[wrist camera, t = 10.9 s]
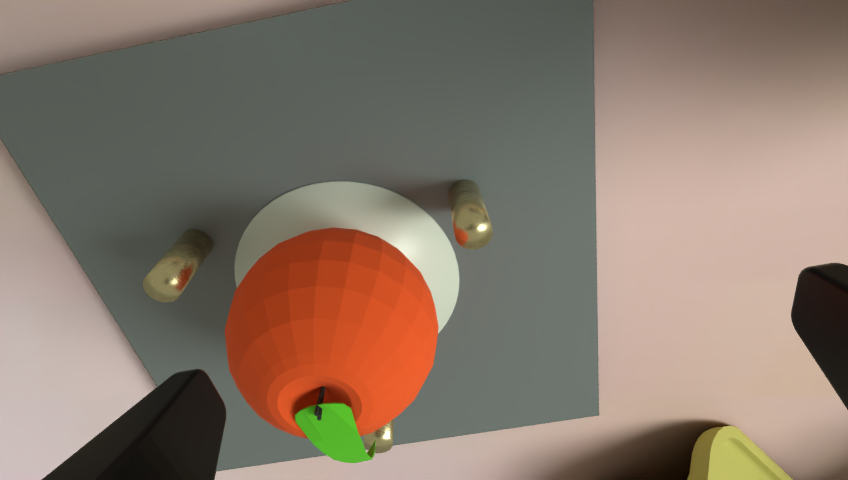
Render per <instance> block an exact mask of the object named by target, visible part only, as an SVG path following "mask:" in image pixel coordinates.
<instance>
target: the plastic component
mask: <svg viewBox="0 0 848 480" xmlns="http://www.w3.org/2000/svg"><path fill="white" fill-rule="evenodd" d="M687 480H793V479H792V478H791V477H789V476H788V475H787V474H786V473H785V472H784V471H783V470H782V469H781V468H780V467H779V466H778V465H777V464H776V463H775V462H773V461H772V460H771V459H770V458H769V457H768V456H767V455H766V454H765V453H764V452H763V451H762V450H761V449H760V448H758V447H757V446H756V445H755V444H754V443H753V442H752V441H751V440H750V439H749V438H748V437H747V436H746V435H745V434H744V433H742V432H741V431H740V430H739V429H738V428H736V427H733V426H723V427H715V428H710V429H708V430H706V431H705V432H703V433H702V434H701V435H700V436H699V437H698V439H697V441H696V443H695V446H694V449H693V452H692V458H691V465H690V473H689V476H688V479H687Z"/></svg>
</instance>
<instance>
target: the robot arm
mask: <svg viewBox="0 0 848 480" xmlns="http://www.w3.org/2000/svg"><path fill="white" fill-rule="evenodd" d="M791 318H792V323H793V326H794V328H795V330H796V332H797V333H798V335H799V336H800V338H801V339H802V341H803V342H804V344H805V345H806V347H807V348H808V350H809V352H810V353H811V355H812V356H813V358H814V359H815V361H816V362H817V364H818V365H819V367H820V368H821V370H822V371H823V373H824V374H825V376H826V377H827V379H828V380H829V382H830V384H831V385H832V387H833V388H834V390H835V391H836V393H837V394H838V396H839V397H840V399H841V400H842V402H843V403H844V405H845V406H846V408H847V409H848V265H844V264H840V263H829V264H823V265H817V266H811V267H807V268H805V269H803V270H802V271H801V273H800V274H799V277H798V282H797V286H796V291H795V296H794V301H793V306H792V311H791ZM225 422H226V407H225V404H224V401H223V400H222V398H221V396H220V395H219V393H218V391H217V389H216V388H215V386H214V384H213V383H212V381H211V379H210V378H209V376H208V374H207V373H206V372H205V371H203V370H202V369H193V370H187V371H181V372H177V373H175V374H173V375H172V376H170V377H169V378H168V379H167V380H165V381H164V382H163V383H162V384H160V385H159V386H158V387H157V388H155V389H154V390H153V391H152V392H150V393H149V394H148V395H147V396H145V397H144V398H143V399H142V400H141V401H139V402H138V403H137V404H136V405H134V406H133V407H132V408H131V409H129V410H128V411H127V412H126V413H124V414H123V415H122V416H121V417H119V418H118V419H117V420H116V421H114V422H113V423H112V424H111V425H109V426H108V427H107V428H106V429H104V430H103V431H102V432H101V433H99V434H98V435H97V436H96V437H94V438H93V439H92V440H91V441H89V442H88V443H87V444H86V445H84V446H83V447H82V448H81V449H79V450H78V451H77V452H76V453H74V454H73V455H72V456H71V457H69V458H68V459H67V460H66V461H64V462H63V463H62V464H61V465H59V466H58V467H57V468H56V469H54V470H53V471H52V472H51V473H49V474H48V475H47V476H46V477H45V478H43V479H42V480H214V479H215V474H216V469H217V464H218V458H219V453H220V448H221V443H222V438H223V433H224V427H225Z"/></svg>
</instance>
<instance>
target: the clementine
mask: <svg viewBox="0 0 848 480" xmlns="http://www.w3.org/2000/svg"><path fill="white" fill-rule="evenodd" d="M438 328H439V327H438V321H437V315H436V309H435V304H434V301H433V298H432V294H431V291H430V289H429V287H428V285H427V283H426V281H425V280H424V278H423V276H422V274H421V272H420V271H419V270H418V269H417V268H416V267H415V266H414V265H413V263H412V262H411V261H410V260H409V259H408V258H407V257H406V256H405V255H404V254H403V253H402V252H401V251H400V250H399V249H398V248H396V247H394V246H393V245H391V244H390V243H388V242H386V241H385V240H383V239H381V238H380V237H378V236H375V235H372V234H369V233H366V232H363V231H360V230H357V229H345V228H334V227H333V228H326V229H319V230H312V231H308V232H305V233H303V234H300V235H298V236H295V237H293V238H290V239H288V240H286V241H283V242H281V243H278V244H277V245H276V246H274V247H273V248H272V249H271V250H269V251H268V252H267V253H265V254H264V255H263V256H262V257H260V258H259V259H258V260H257V262H256V263H255V264H254V265H253V266H252V267H251V269H250V270H249V271H248V272H247V274H246V275H245V277H244V278H243V280H242V281H241V283H240V284H239V286H238V287H237V289H236V290H235V293H234V297H233V300H232V304H231V307H230V311H229V315H228V319H227V323H226V327H225V339H226V349H227V357H228V365H229V371H230V373H231V375H232V377H233V379H234V382H235V384H236V386H237V388H238V390H239V391H240V393H241V394H242V396H243V397H244V399H245V400H246V402H247V403H248V404H249V405H250V407H251V408H252V409H253V410H254V411H255V412H256V413H257V414H258V416H259V417H261V418H262V419H264V420H265V421H266V422H268V423H269V424H271V425H272V426H274V427H275V428H277V429H280V430H282V431H284V432H287V433H289V434H291V435H294V436H298V437H302V438H307V439H309V440H310V441H311V442H312V443H313V444H314V445H315V446H316V447H317V448H318V449H319V450H320V451H321V452H323V453H324V454H326V455H327V456H329V457H331V458H332V459H334V460H338V461H342V462H347V463H357V462H362V461H367V460H371V459H372V458H373V457H374V454H375V445H376V440H375V442H374V443H373V445H372V446H371V448H370V450H369V451H368V453H366V451H365V448H364V445H363V442H362V440H361V437H360V436H363V435H366V434H369V433H372V432H374V431H375V430H377V429H379V428H381V427H382V426H384V425H386V424H387V423H389V422H390V421H391V420H393V419H394V418H395V417H397V416H398V415H399V414H401V413H402V412H403V411H404V410H405V409H406V408H407V407H408V406H409V405H410V404H411V403H412V402H413V401H414V400H415V398H416V396H417V394H418V393H419V391H420V389H421V387H422V385H423V384H424V382H425V380H426V378H427V376H428V374H429V372H430V370H431V369H432V367H433V363H434V357H435V351H436V345H437V337H438Z"/></svg>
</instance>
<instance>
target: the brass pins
mask: <svg viewBox="0 0 848 480" xmlns="http://www.w3.org/2000/svg"><path fill="white" fill-rule="evenodd" d="M448 198H449V204H450V210H451V216H452V222H453V228H454V234H455V238H456V241H457V242H458V244H459V245H460V246H462V247H464V248H466V249H471V250H474V249H479V248H482V247H484V246H485V245H487V244H488V243H489V241H490V240H491V238H492V235H493V229H492V226H491V222H490V219H489V216H488V213H487V210H486V207H485V203H484V200H483V197H482V194H481V191H480V188H479V186H478V185H477V184H476V183H475V182H473V181H471V180H467V179H464V180H459V181H457V182H455V183H454V184H453V185H452V186H451V188H450V189H449V193H448ZM212 248H213V243H212V240H211V238H210V237H209V236H208V235H207V234H206V233H205V232H203V231H200V230H197V229H190V230H187V231H185V232H184V233H183V234H182V235H181V236H180V238H179V239H178V240H177V241H176V242H175V243H174V244H173V246H172V247H171V248H170V249H169V250H168V251H167V253H166V254H165V255H164V256H163V257H162V258H161V260H160V261H159V262H158V263H157V264H156V265H155V267H154V268H153V269H152V270H151V271H150V272H149V273H148V275H147V276H146V277H145V278H144V280H143V288H144V290H145V292H146V293H147V294H148V295H149V296H150V297H151V298H153V299H154V300H156V301H159V302H165V303H166V302H173V301H175V300H176V299H178V298H179V296H180V295H181V293H182V292H183V290H184V289H185V288H186V286H187V285H188V283H189V282H190V281H191V279H192V278H193V276H194V275H195V273H196V272H197V271H198V269H199V268H200V266H201V265H202V264H203V262H204V261H205V259H206V258H207V257H208V255H209V254H210V252H211V251H212ZM393 426H394V419H393V420H391V421H390V422H389V423H387V424H386V425H384V426H382V427H381V428H379V429H377V430H375V431H374V432H372V433H369V434H366V435H364V446H365V448H366V449H367V450H370V448H371V446H372V445H373V443H374V442H375V440H376V445H375V453H383V452H386V451H388V450H390V449H391V447H392V445H393Z"/></svg>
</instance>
